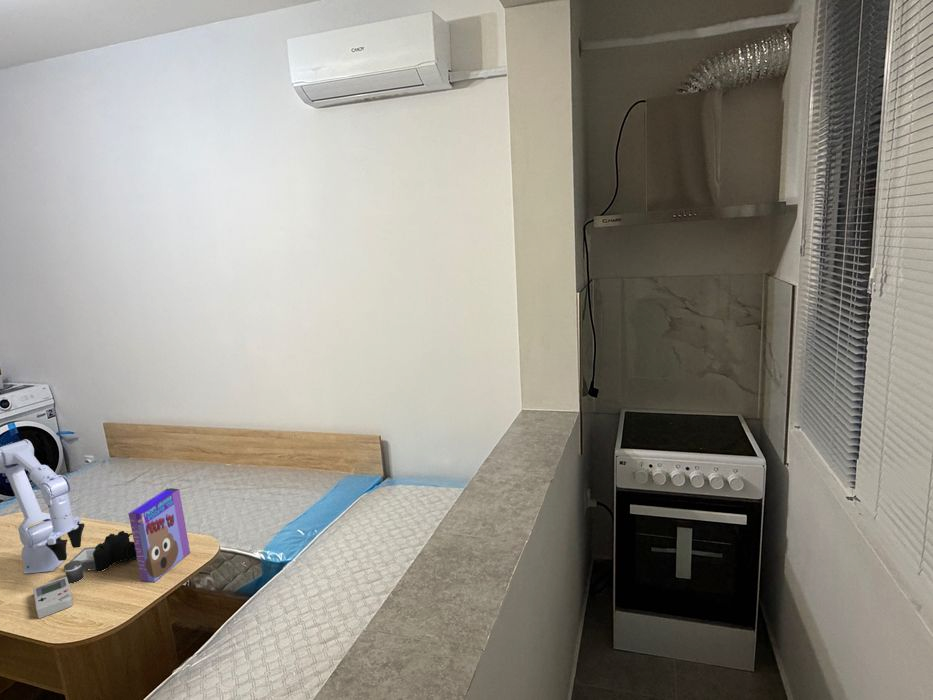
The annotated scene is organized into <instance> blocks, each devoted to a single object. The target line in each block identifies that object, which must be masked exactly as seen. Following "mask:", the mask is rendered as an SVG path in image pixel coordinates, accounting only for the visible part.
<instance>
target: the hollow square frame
mask: <svg viewBox="0 0 933 700" xmlns="http://www.w3.org/2000/svg"><path fill="white" fill-rule="evenodd" d="M95 547H96V546H93V547H84V548H83V549H81V551H80V552H79V553H77V554H76V555H75V556H74V557H73V558H72V559H71V560H70V561H69V562H71V561H76V560H79V561H80V562H81V566H82V570H85V571H89V570H88V569H96V566H95V561H94V557H93V552H94V551H95Z"/></svg>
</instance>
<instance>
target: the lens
mask: <svg viewBox="0 0 933 700" xmlns="http://www.w3.org/2000/svg"><path fill="white" fill-rule="evenodd" d="M70 561H71V560H70ZM70 561H69V562H67V563H66V564H64V566H63V568H64V569H63V570H64V572H65V573H64V574H65V577H67V579H68V583H69V584H70V583H72V584H75V583H74V582H76V583H78V582H77V581H79V580H81V579H82V578H83V577H84V578H85V576H84V571H82V566H81V562H80V561H79V560H76V561H71V562H70ZM84 578H83V579H84ZM83 579H82V580H83ZM82 580H81V581H82ZM79 582H80V581H79Z"/></svg>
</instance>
